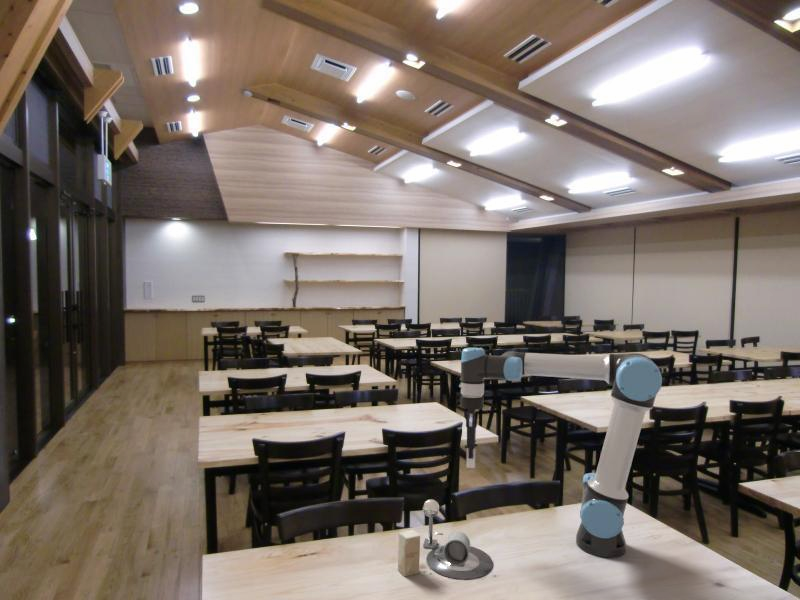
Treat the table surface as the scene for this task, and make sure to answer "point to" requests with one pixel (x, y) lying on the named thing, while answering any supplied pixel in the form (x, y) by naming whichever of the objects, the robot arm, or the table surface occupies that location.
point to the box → (409, 553)
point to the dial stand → (431, 522)
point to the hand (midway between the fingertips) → (470, 467)
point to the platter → (471, 569)
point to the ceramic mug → (455, 549)
